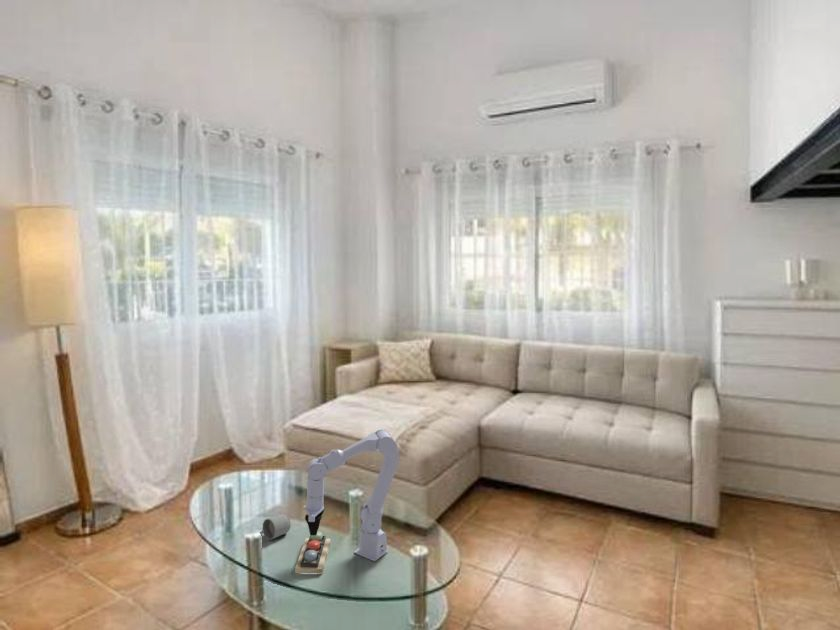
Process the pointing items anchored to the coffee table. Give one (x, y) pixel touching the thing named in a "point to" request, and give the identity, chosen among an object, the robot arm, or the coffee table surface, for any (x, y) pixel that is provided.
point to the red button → (314, 545)
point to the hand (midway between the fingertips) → (314, 532)
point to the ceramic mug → (276, 526)
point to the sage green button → (317, 536)
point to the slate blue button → (310, 555)
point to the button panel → (319, 563)
